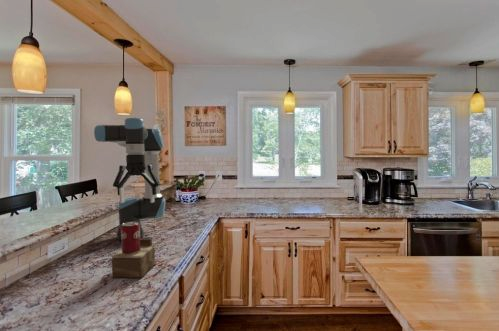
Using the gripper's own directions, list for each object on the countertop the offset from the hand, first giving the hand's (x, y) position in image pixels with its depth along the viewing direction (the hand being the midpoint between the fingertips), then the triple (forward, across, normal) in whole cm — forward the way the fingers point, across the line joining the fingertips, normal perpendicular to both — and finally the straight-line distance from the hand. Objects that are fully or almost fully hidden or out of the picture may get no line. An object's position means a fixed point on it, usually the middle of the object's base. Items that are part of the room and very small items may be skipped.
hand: (137, 202), depth 128 cm
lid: (+20, 0, -5) cm, 21 cm away
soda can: (+20, 0, -7) cm, 21 cm away
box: (+29, 0, -5) cm, 29 cm away
